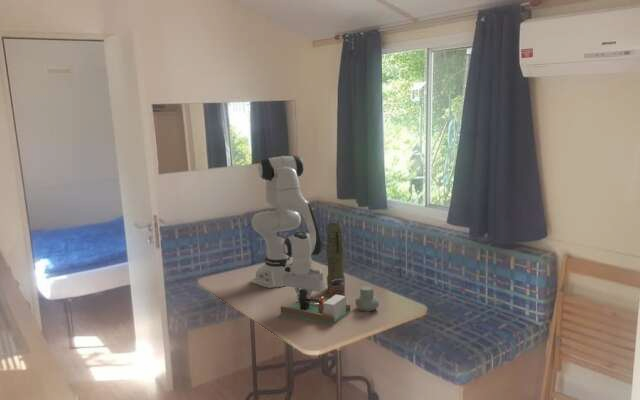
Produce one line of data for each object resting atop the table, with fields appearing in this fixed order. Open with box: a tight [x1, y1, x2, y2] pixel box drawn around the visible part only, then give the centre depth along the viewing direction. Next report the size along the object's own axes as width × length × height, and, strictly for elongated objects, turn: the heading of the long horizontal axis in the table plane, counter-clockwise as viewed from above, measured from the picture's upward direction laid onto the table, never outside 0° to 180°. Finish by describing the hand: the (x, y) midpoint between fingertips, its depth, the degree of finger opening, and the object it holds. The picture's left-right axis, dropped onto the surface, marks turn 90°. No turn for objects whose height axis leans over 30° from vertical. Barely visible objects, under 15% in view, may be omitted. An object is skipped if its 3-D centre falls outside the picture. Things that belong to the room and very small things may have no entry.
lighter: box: [328, 279, 346, 300], centre depth 246 cm, size 8×3×10 cm, turn 105°
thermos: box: [325, 220, 346, 292], centre depth 257 cm, size 9×12×35 cm
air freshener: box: [355, 285, 380, 312], centre depth 233 cm, size 11×8×10 cm
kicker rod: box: [299, 289, 327, 314], centre depth 231 cm, size 12×5×9 cm, turn 60°
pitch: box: [280, 295, 351, 326], centre depth 230 cm, size 27×16×8 cm, turn 60°
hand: (303, 297), depth 232 cm, fingers closed on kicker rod, 3 cm apart
